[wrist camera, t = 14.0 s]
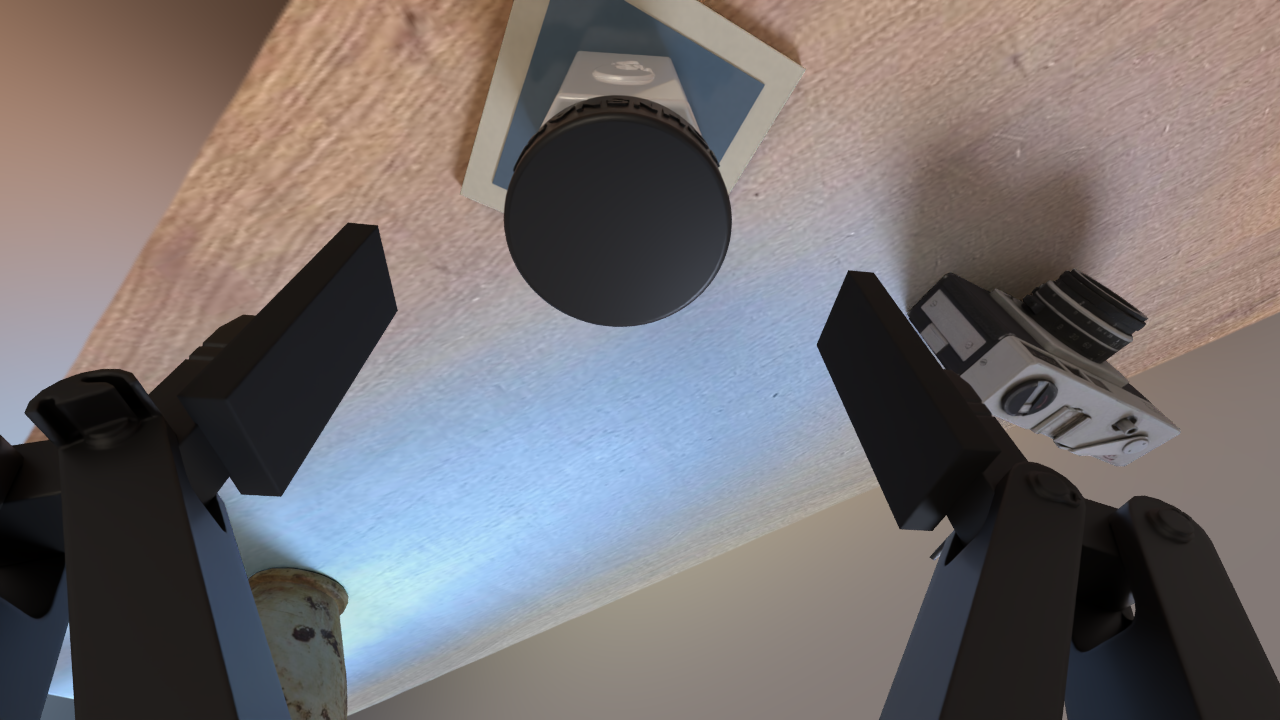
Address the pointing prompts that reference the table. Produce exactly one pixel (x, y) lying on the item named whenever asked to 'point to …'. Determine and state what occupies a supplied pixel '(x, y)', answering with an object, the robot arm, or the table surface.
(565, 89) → the jar
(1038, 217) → the table surface
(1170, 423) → the camera
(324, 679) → the vase
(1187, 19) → the table surface
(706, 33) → the tile
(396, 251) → the table surface
